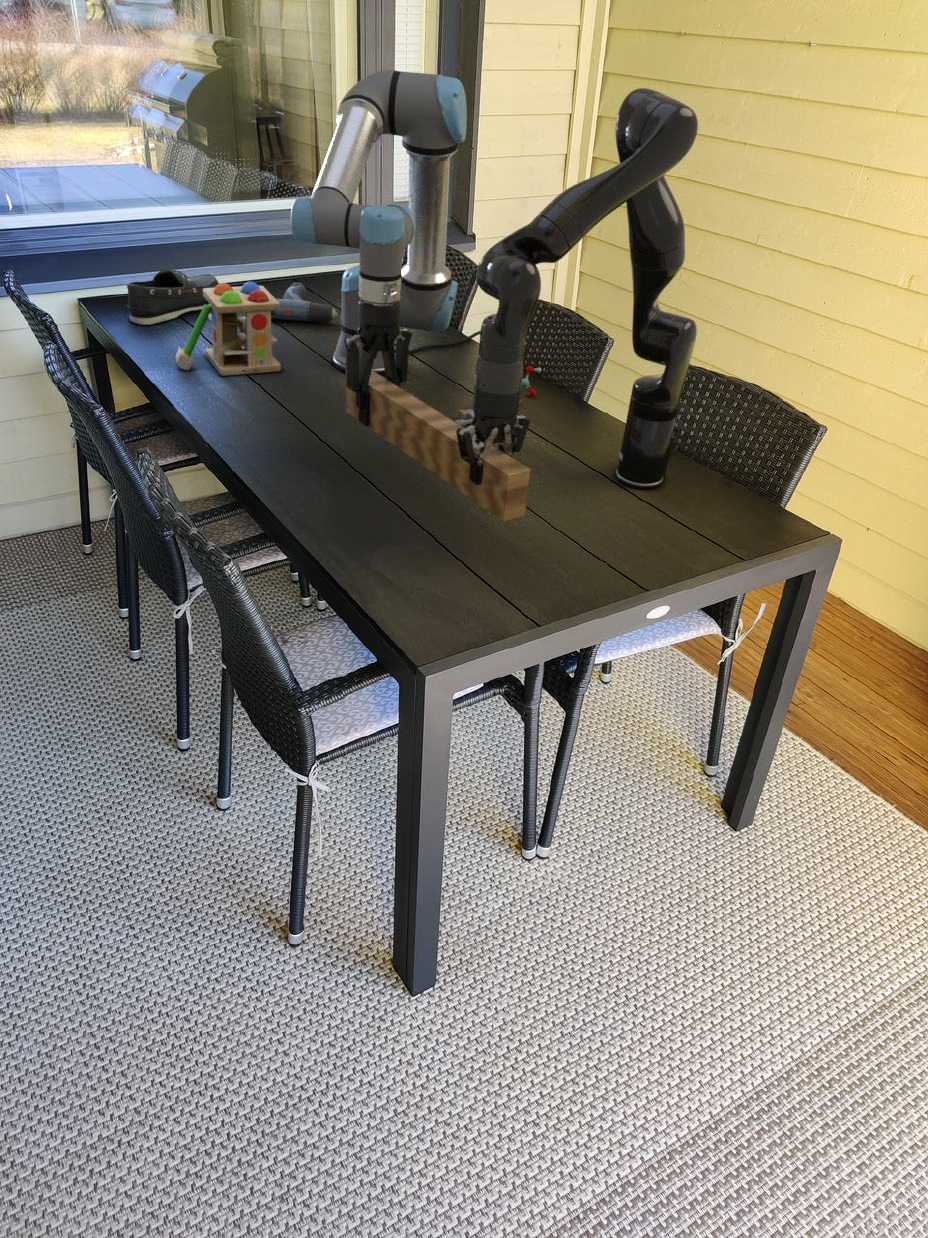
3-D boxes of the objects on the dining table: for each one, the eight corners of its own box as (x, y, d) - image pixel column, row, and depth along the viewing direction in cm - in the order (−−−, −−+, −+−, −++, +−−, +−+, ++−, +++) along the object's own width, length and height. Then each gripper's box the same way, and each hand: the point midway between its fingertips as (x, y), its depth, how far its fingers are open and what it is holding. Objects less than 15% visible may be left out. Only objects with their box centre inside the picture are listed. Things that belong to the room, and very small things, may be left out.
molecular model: (537, 396, 220) (523, 352, 219) (499, 410, 224) (485, 367, 222) (549, 394, 231) (536, 353, 229) (513, 408, 234) (500, 367, 233)
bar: (345, 411, 193) (345, 369, 188) (365, 407, 196) (366, 366, 191) (503, 521, 161) (508, 475, 157) (524, 515, 164) (530, 469, 159)
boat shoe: (239, 303, 270) (236, 264, 265) (147, 326, 246) (142, 284, 241) (205, 294, 276) (202, 256, 270) (112, 317, 252) (106, 275, 247)
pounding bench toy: (183, 379, 220) (176, 299, 210) (169, 357, 231) (162, 280, 221) (282, 371, 230) (280, 294, 220) (264, 350, 240) (262, 276, 230)
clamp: (446, 411, 212) (486, 405, 217) (446, 420, 214) (485, 415, 218) (482, 439, 202) (522, 432, 206) (481, 448, 203) (521, 442, 208)
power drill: (344, 304, 276) (335, 327, 259) (277, 298, 275) (264, 321, 258) (344, 285, 273) (335, 306, 256) (277, 279, 272) (264, 300, 255)
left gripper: (348, 312, 169) (346, 437, 182) (431, 300, 178) (424, 419, 191) (326, 299, 174) (326, 422, 187) (408, 288, 183) (403, 405, 196)
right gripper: (476, 399, 149) (467, 498, 159) (547, 383, 157) (535, 479, 167) (447, 382, 154) (441, 479, 164) (517, 367, 162) (507, 461, 171)
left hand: (375, 420), depth 189 cm, fingers closed on bar, 5 cm apart
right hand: (488, 479), depth 165 cm, fingers closed on bar, 4 cm apart
